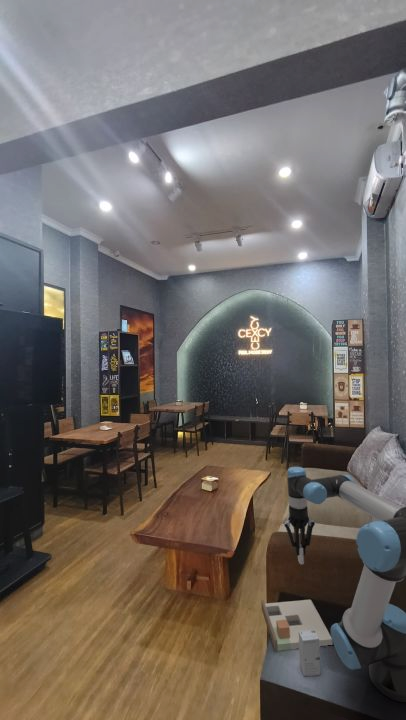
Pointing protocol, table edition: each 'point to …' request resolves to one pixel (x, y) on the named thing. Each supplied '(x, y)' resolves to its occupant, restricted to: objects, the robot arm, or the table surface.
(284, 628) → the block
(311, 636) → the skincare box
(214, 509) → the table surface
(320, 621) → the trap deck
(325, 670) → the table surface
